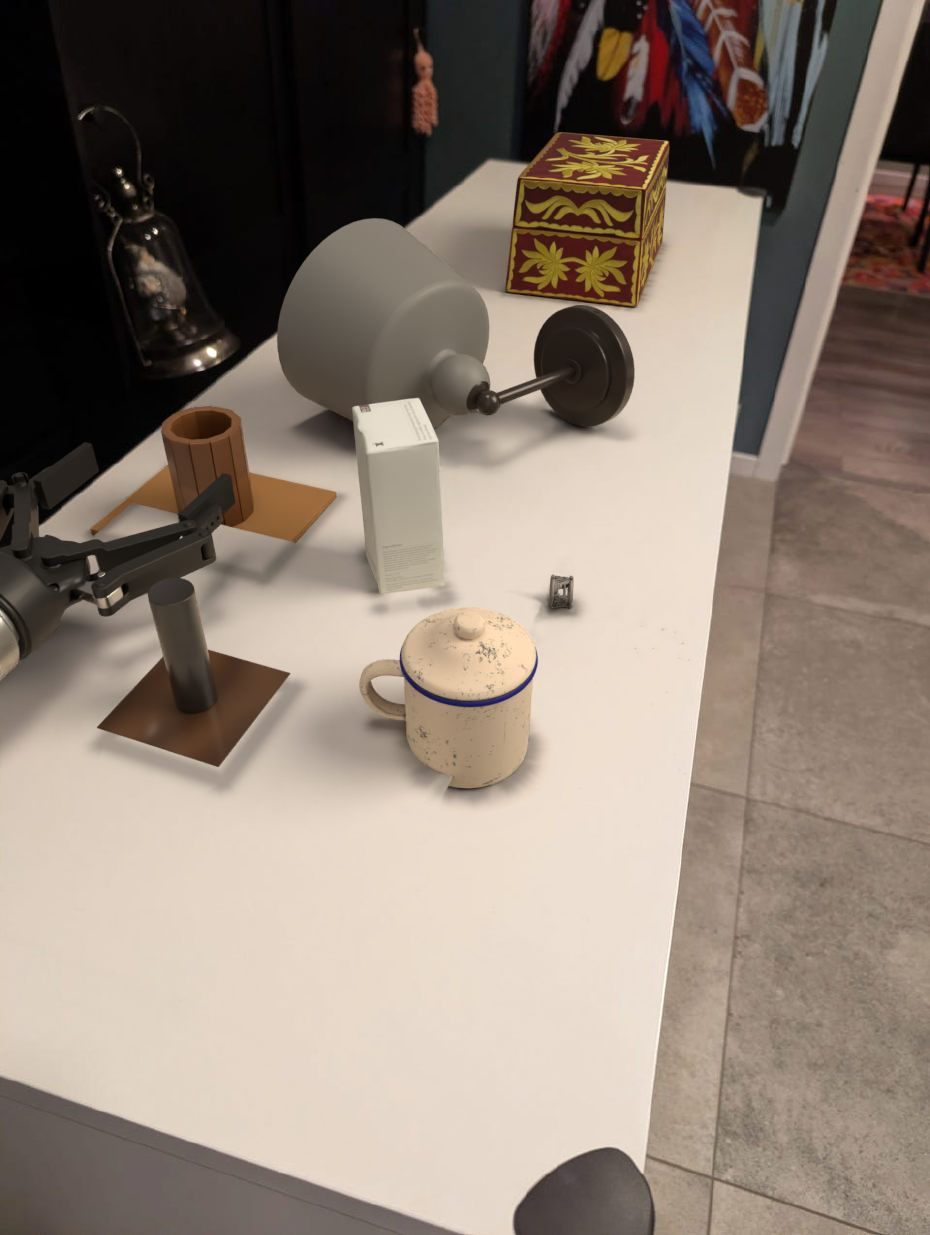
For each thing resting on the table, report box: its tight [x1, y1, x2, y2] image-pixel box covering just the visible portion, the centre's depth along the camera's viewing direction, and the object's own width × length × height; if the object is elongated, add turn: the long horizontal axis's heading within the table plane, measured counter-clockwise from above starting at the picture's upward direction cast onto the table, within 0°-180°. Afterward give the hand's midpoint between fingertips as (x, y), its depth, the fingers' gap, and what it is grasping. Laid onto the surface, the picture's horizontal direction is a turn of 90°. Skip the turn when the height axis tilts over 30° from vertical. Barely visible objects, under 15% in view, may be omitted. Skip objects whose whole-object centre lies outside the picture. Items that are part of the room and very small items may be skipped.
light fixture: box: [276, 217, 636, 430], centre depth 98 cm, size 20×25×27 cm
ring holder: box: [96, 577, 291, 768], centre depth 67 cm, size 10×10×12 cm
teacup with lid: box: [358, 606, 539, 789], centre depth 65 cm, size 12×9×12 cm
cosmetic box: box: [352, 398, 446, 595], centre depth 79 cm, size 8×6×15 cm
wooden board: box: [89, 464, 337, 543], centre depth 90 cm, size 18×14×1 cm
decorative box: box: [504, 131, 670, 308], centre depth 137 cm, size 28×19×15 cm
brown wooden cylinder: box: [160, 405, 254, 528], centre depth 87 cm, size 7×7×9 cm
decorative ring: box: [548, 574, 575, 610], centre depth 80 cm, size 3×2×3 cm
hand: (159, 471), depth 81 cm, fingers open, 13 cm apart
